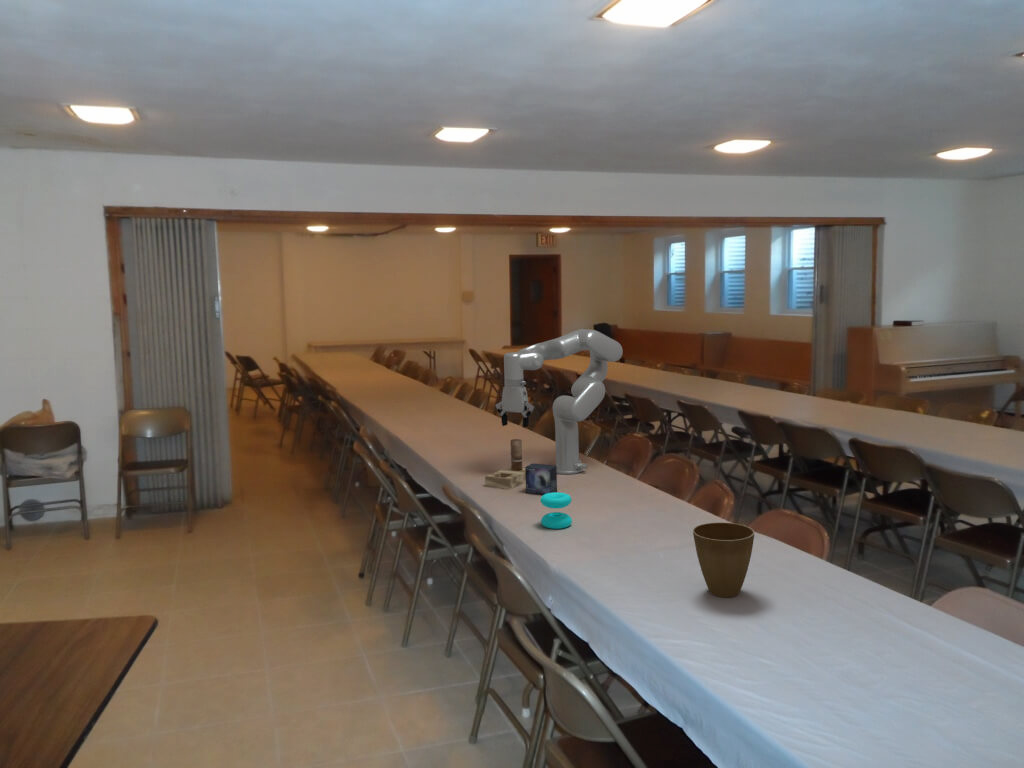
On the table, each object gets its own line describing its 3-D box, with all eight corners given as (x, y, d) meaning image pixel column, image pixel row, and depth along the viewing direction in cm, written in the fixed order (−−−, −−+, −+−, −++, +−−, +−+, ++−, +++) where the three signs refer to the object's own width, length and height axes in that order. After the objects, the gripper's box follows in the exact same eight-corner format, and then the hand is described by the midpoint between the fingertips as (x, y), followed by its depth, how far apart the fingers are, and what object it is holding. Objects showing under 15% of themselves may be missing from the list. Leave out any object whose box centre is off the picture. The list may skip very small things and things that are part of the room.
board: (511, 475, 331) (511, 465, 331) (535, 477, 325) (534, 468, 325) (485, 486, 314) (485, 476, 314) (509, 489, 308) (509, 479, 308)
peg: (524, 469, 324) (523, 439, 323) (518, 471, 320) (517, 441, 319) (514, 467, 327) (514, 438, 325) (509, 470, 323) (508, 440, 321)
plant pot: (742, 579, 210) (743, 520, 208) (762, 602, 196) (763, 538, 193) (686, 582, 210) (686, 522, 208) (701, 604, 195) (701, 541, 193)
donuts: (565, 490, 267) (575, 497, 257) (565, 519, 268) (576, 528, 259) (536, 493, 264) (545, 500, 255) (537, 522, 265) (546, 531, 256)
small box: (525, 493, 302) (524, 466, 301) (532, 489, 308) (531, 462, 306) (550, 496, 297) (549, 468, 296) (557, 492, 303) (557, 465, 301)
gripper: (537, 383, 318) (538, 426, 320) (500, 381, 327) (501, 423, 329) (528, 385, 311) (529, 429, 314) (490, 383, 320) (491, 426, 323)
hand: (515, 426), depth 321 cm, fingers open, 9 cm apart
